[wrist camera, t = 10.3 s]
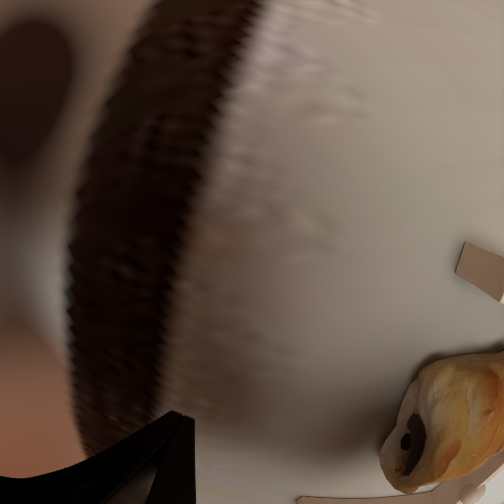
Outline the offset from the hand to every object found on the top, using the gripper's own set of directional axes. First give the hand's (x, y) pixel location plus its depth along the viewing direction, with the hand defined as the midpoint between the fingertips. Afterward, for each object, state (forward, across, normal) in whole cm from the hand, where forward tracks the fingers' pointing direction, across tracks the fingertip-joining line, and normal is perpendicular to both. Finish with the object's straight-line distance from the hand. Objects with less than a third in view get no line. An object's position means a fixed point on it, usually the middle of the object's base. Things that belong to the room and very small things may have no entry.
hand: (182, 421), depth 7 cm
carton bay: (+2, -12, 0) cm, 12 cm away
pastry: (+2, -11, -2) cm, 12 cm away
